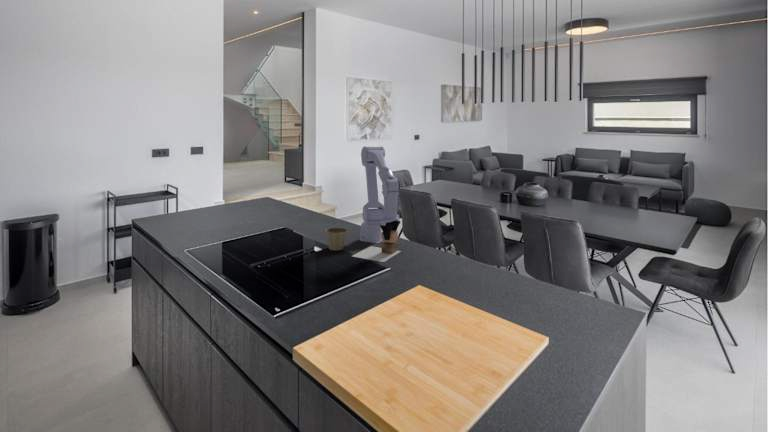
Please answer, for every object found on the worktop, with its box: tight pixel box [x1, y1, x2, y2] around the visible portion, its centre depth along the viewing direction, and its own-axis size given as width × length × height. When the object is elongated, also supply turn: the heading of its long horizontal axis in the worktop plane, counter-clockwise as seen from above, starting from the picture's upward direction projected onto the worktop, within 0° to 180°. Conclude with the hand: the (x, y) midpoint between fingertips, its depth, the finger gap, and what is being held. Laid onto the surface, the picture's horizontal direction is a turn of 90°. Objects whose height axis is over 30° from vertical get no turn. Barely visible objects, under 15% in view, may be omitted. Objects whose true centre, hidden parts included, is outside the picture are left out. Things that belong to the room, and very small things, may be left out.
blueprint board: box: [352, 245, 402, 263], centre depth 182 cm, size 15×17×1 cm
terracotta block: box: [381, 230, 399, 243], centre depth 183 cm, size 5×5×4 cm
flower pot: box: [324, 227, 348, 251], centre depth 187 cm, size 9×9×9 cm
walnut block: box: [381, 241, 398, 254], centre depth 184 cm, size 5×5×4 cm
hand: (389, 238), depth 184 cm, fingers closed on terracotta block, 5 cm apart
